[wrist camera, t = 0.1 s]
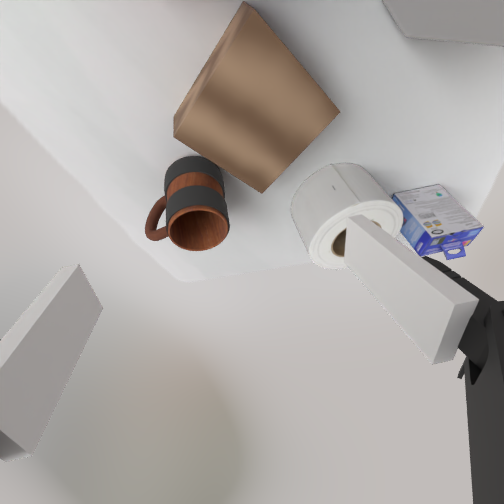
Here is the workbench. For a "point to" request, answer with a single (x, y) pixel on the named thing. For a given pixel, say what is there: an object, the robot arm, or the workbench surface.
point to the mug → (191, 206)
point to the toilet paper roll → (339, 210)
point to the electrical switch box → (450, 20)
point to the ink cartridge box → (436, 221)
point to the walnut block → (252, 104)
